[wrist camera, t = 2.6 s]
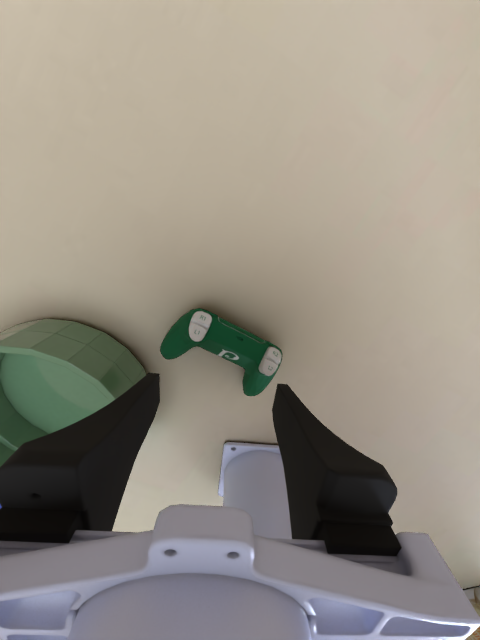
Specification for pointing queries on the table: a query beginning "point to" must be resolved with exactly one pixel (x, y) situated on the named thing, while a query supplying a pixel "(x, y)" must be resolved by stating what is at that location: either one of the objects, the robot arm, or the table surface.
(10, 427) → the bowl
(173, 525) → the robot arm
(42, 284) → the table surface
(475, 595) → the coffee box
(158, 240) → the table surface
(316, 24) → the table surface
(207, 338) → the gaming controller
